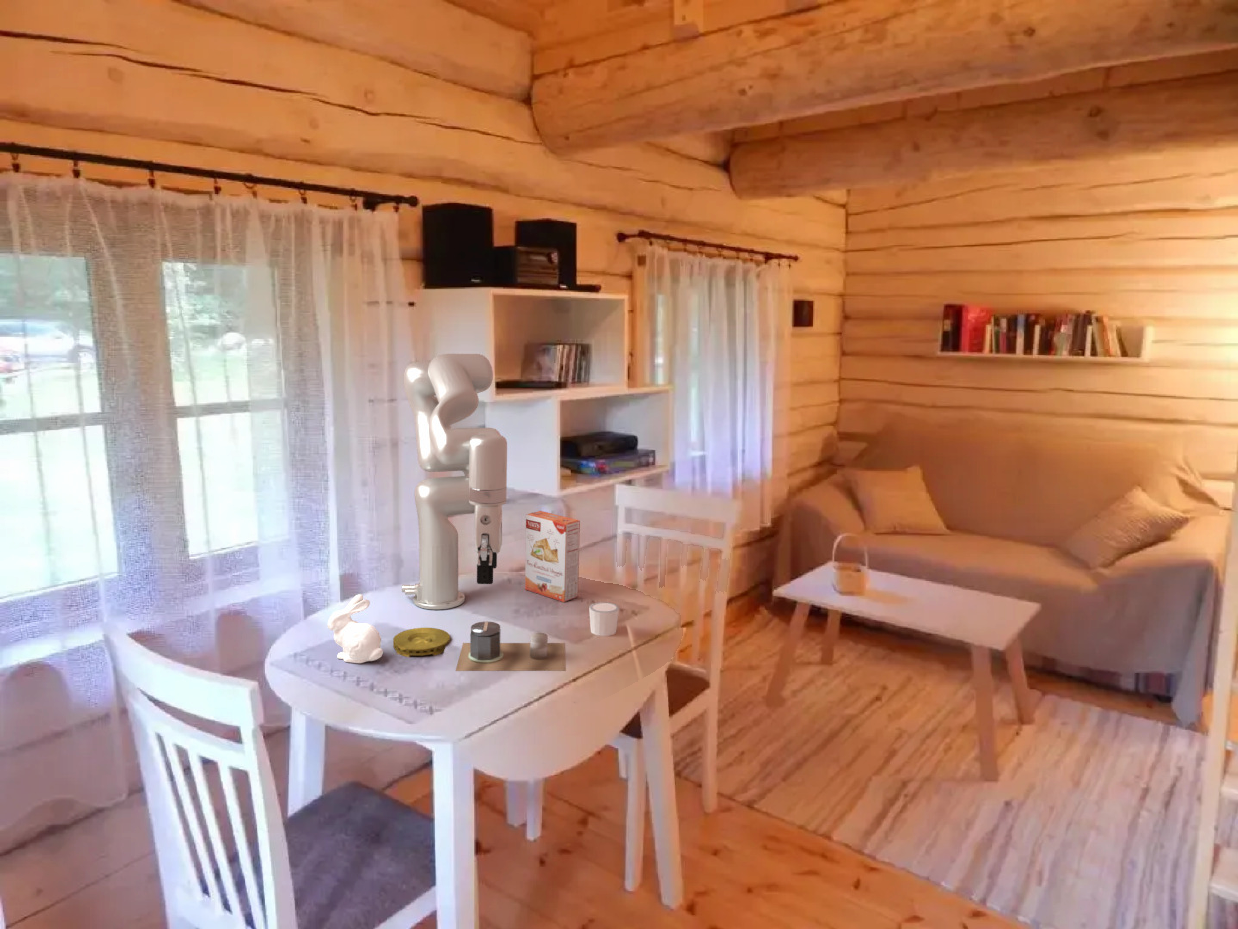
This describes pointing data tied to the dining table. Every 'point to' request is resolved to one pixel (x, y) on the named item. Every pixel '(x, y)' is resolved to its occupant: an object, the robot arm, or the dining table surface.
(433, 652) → the brake disc
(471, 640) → the grey faceted cylinder
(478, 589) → the dining table surface
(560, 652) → the board
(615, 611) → the white cup
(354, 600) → the rabbit
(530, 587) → the cracker box
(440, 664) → the dining table surface
